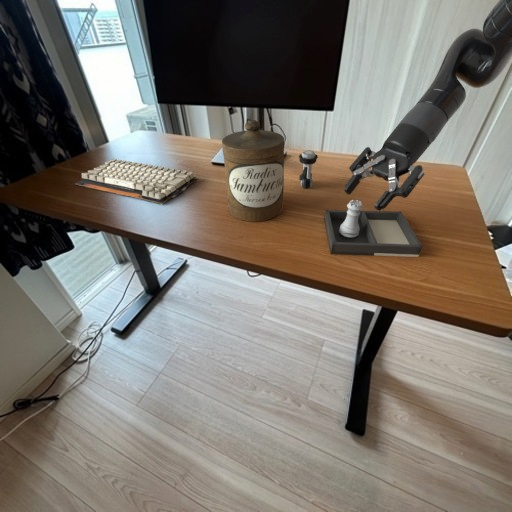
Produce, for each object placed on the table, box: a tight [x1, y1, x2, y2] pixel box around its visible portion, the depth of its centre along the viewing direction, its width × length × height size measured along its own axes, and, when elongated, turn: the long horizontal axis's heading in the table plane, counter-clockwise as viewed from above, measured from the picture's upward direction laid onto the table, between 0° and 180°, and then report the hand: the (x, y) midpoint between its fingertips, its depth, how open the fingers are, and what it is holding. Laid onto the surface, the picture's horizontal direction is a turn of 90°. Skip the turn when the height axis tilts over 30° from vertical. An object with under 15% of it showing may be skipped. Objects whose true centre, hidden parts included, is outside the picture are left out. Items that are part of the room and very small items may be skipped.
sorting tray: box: [323, 209, 424, 258], centre depth 61 cm, size 18×14×3 cm
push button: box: [298, 150, 319, 190], centre depth 81 cm, size 7×5×10 cm
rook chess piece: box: [339, 199, 364, 238], centre depth 60 cm, size 4×4×8 cm
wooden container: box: [221, 119, 285, 222], centre depth 67 cm, size 15×15×22 cm
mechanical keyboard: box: [73, 158, 197, 205], centre depth 88 cm, size 38×19×3 cm, turn 66°
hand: (360, 200), depth 58 cm, fingers open, 8 cm apart
